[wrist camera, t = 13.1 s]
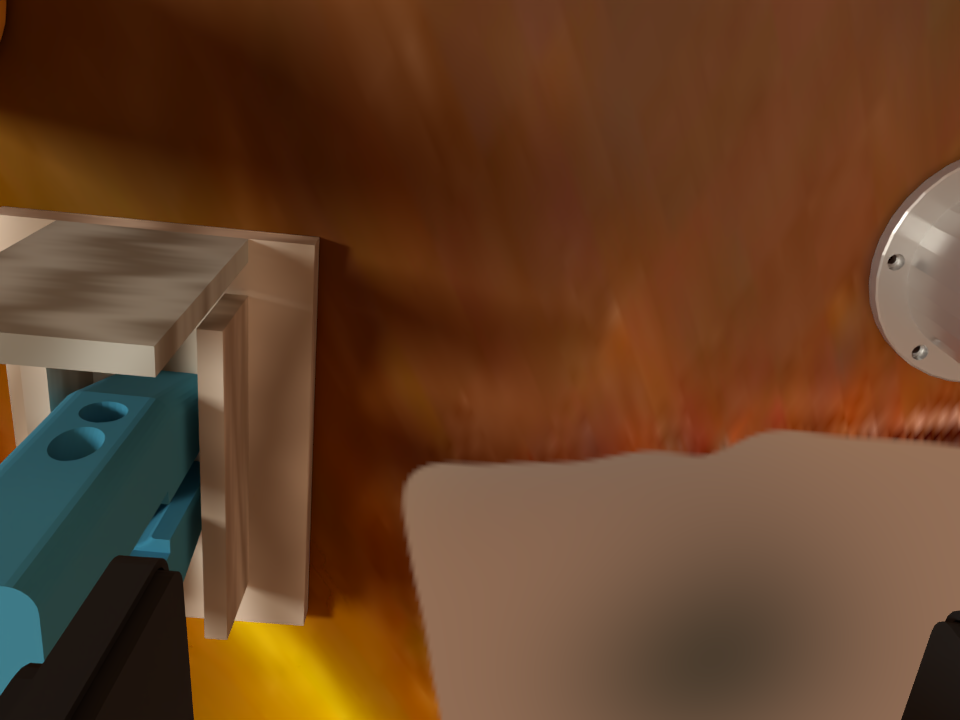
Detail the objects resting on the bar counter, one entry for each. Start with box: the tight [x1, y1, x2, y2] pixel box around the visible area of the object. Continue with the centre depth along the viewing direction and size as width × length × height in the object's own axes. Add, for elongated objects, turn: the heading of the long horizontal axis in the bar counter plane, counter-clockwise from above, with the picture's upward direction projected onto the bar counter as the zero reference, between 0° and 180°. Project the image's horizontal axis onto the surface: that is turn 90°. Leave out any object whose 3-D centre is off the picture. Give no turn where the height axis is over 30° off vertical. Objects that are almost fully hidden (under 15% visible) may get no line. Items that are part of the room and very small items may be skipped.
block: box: [0, 370, 202, 695], centre depth 39 cm, size 12×5×20 cm, turn 174°
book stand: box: [0, 206, 320, 640], centre depth 42 cm, size 16×24×16 cm, turn 174°
